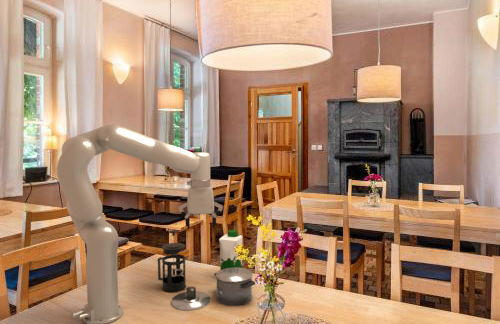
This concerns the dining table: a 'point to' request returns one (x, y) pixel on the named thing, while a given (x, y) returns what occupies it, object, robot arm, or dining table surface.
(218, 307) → the dining table surface
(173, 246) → the french press
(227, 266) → the milk carton
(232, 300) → the pot
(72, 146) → the robot arm
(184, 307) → the lid
